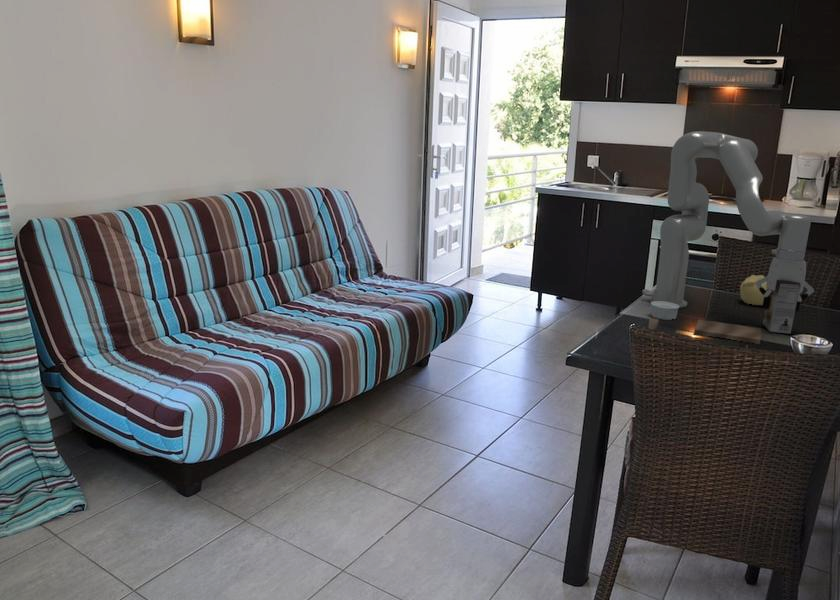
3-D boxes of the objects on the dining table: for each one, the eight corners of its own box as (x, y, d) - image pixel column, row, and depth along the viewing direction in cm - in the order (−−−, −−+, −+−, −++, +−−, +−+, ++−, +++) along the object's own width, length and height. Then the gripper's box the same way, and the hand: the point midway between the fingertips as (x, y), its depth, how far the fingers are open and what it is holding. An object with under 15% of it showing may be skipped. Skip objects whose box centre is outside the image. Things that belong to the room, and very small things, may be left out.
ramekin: (678, 316, 231) (680, 303, 230) (676, 322, 223) (678, 309, 222) (651, 312, 235) (652, 299, 234) (647, 318, 227) (649, 305, 226)
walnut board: (693, 334, 209) (694, 329, 209) (698, 323, 222) (698, 319, 221) (759, 344, 202) (760, 339, 201) (760, 332, 214) (761, 328, 214)
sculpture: (741, 298, 259) (745, 270, 257) (776, 304, 253) (781, 275, 250) (734, 304, 250) (739, 275, 248) (770, 310, 244) (775, 280, 241)
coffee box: (761, 323, 222) (770, 274, 218) (783, 325, 221) (792, 276, 217) (769, 331, 214) (779, 281, 210) (791, 334, 213) (802, 283, 208)
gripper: (758, 253, 212) (748, 309, 216) (823, 260, 205) (812, 318, 209) (759, 249, 218) (749, 304, 223) (821, 257, 211) (810, 312, 216)
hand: (779, 310), depth 216 cm, fingers closed on coffee box, 7 cm apart
